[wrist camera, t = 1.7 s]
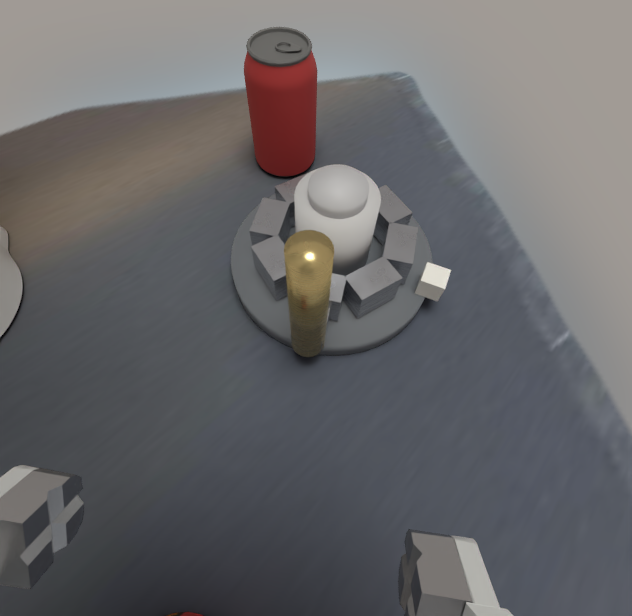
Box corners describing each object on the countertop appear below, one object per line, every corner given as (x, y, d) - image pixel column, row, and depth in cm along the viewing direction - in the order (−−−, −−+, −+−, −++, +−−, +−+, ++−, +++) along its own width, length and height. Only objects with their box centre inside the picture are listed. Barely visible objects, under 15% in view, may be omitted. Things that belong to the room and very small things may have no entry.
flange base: (205, 329, 33) (169, 260, 24) (266, 182, 42) (256, 91, 33) (428, 380, 31) (475, 325, 23) (444, 215, 40) (483, 130, 31)
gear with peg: (280, 184, 38) (270, 62, 28) (415, 210, 37) (457, 92, 27) (220, 337, 30) (177, 243, 20) (390, 376, 29) (436, 297, 19)
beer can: (306, 185, 42) (306, 71, 31) (247, 173, 42) (228, 58, 32) (321, 145, 45) (326, 29, 34) (266, 134, 45) (254, 18, 35)
